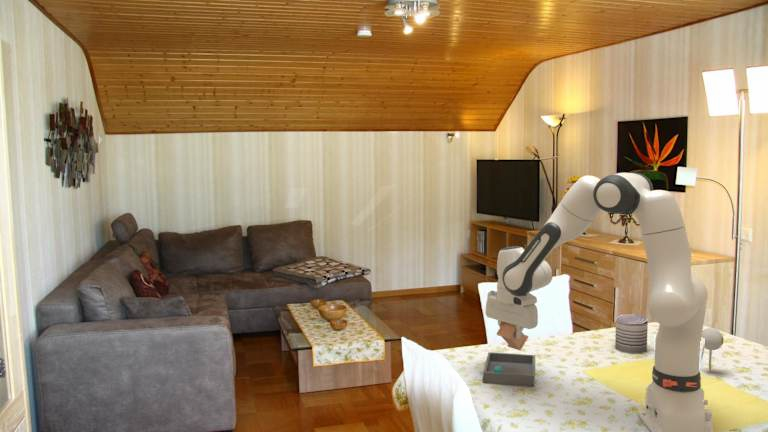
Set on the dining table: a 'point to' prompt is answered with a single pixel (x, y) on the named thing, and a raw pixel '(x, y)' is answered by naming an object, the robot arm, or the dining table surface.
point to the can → (631, 334)
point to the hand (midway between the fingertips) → (510, 335)
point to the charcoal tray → (510, 369)
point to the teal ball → (498, 369)
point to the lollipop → (712, 341)
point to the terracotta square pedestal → (511, 336)
